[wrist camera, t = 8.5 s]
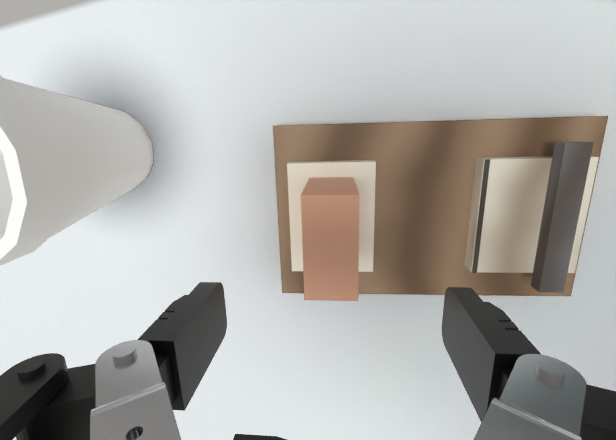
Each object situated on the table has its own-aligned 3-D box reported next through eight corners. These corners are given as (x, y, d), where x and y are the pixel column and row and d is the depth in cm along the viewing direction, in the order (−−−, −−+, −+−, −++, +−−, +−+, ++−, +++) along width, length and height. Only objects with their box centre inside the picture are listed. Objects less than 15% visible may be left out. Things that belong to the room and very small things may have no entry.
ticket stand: (591, 116, 23) (639, 114, 19) (557, 287, 27) (593, 312, 23) (276, 125, 25) (266, 126, 21) (284, 284, 28) (277, 307, 25)
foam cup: (83, 216, 28) (-117, 289, 16) (39, 103, 26) (-239, 82, 13) (188, 195, 27) (61, 257, 14) (151, 74, 25) (-39, 22, 12)
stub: (374, 159, 23) (390, 174, 16) (371, 265, 26) (384, 317, 19) (289, 161, 24) (270, 176, 17) (293, 264, 26) (278, 315, 19)
